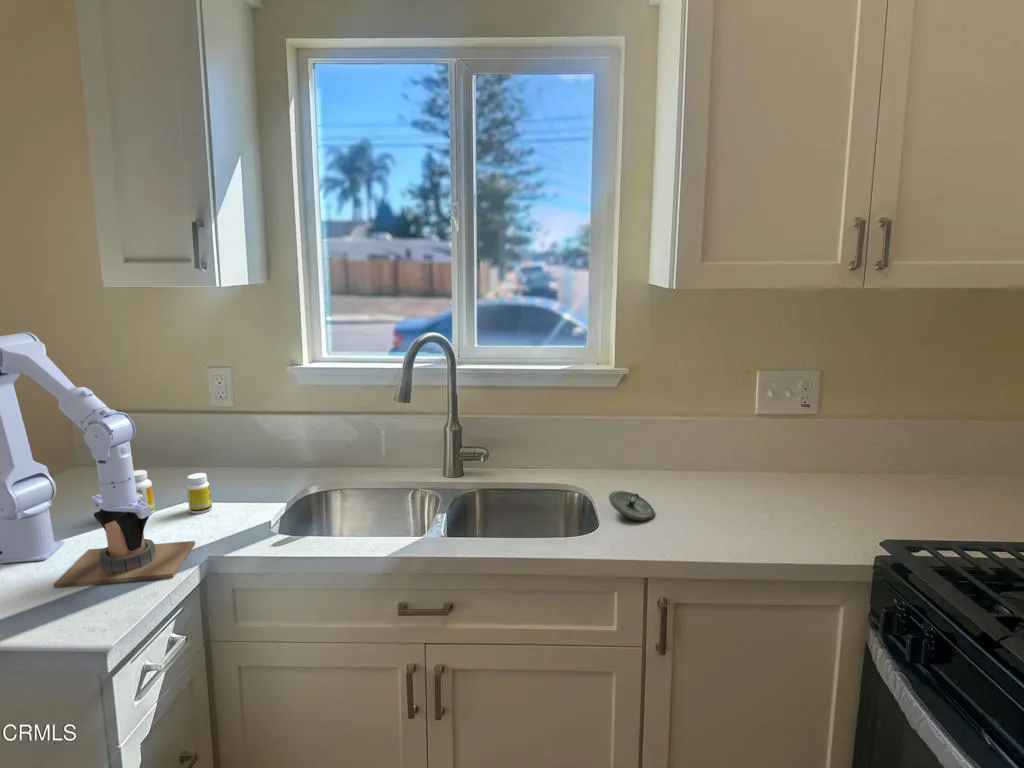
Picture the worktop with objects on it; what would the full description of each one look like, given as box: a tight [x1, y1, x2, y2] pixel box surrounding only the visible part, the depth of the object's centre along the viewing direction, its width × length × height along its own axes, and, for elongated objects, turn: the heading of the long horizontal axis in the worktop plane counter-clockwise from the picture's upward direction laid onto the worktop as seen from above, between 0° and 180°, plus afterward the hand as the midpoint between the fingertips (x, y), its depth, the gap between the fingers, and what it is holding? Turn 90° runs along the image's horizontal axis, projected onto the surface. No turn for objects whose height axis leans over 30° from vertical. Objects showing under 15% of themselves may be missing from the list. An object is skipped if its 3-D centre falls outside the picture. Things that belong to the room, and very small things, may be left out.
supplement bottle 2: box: [186, 472, 213, 515], centre depth 154 cm, size 5×5×8 cm
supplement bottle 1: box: [134, 469, 156, 514], centre depth 153 cm, size 5×5×10 cm
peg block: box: [105, 521, 146, 558], centre depth 128 cm, size 4×4×7 cm
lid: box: [608, 490, 655, 522], centre depth 149 cm, size 11×10×5 cm
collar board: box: [53, 538, 196, 589], centre depth 128 cm, size 20×14×3 cm
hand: (126, 546), depth 128 cm, fingers closed on peg block, 4 cm apart
